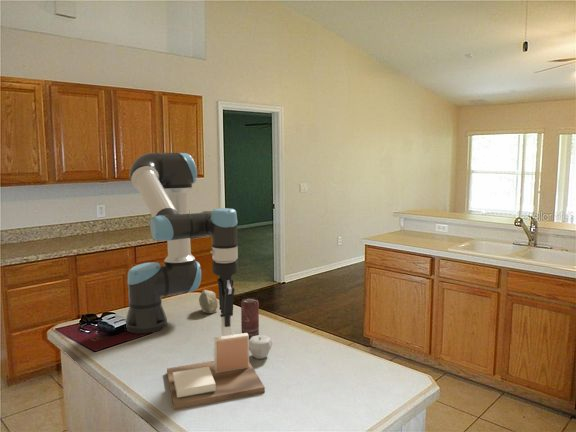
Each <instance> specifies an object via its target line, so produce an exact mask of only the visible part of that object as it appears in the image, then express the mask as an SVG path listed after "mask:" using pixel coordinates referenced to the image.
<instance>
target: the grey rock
mask: <svg viewBox="0 0 576 432" xmlns="http://www.w3.org/2000/svg"><path fill="white" fill-rule="evenodd" d="M198 297H199V298H198V302H199V306H200V309H201V310H202V312H203V313H205V314H212V313H217V312H218V311H217V309H218V304H219V301H218V299H217V294H216V293H215V292H214V291H212V290H207V289H203V290H202V292H201V293H200V295H199V296H198Z"/></svg>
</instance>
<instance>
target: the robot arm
mask: <svg viewBox="0 0 576 432" xmlns="http://www.w3.org/2000/svg"><path fill="white" fill-rule="evenodd" d="M129 168H130V169H129V171H128V173H129V175H128V176H129V181H130V183H131V185H132V187H134V189H136V190H137V191H138V192H139V194H140V196H141V198H142V200H143V201H144V203H145V205H146V207H147V209H148V211H149V214H150V215H151V219H150V224H149V227H150V228H149V229H150V233H151V237H152V239H153V240H154V241H157V242H162V241H165V242H167V256H166V257H165V259H164V260H163V262H164V263H163V264H164V265H161V264H160V263H159V262H157V261H154V262H143V263H140V264H136V265H135V266H132V267H131V268H130V269H129V270H128V271H127V281H126V282H127V289H128V290H127V292H128V310H127V314H126V318H125V321H124V323H125V322H126V328H127V331H126V332H129V333H130V334H132V333H133V334H150V333H154V332H157V331H161V330H163V329H164V328H166V327H167V326H168V317H167V315H166V312H165V310H164V306H163V305H162V298H163V297H168V296H176V295H180V294H188V293H191V292H195V291H196V290H197V289H198V288H199V287H200V285H201V280H202V269H201V264H200V262H199V261H196V258H195V256H194V255H193V254H192V249H191V239H196V238H206V237H210V238H211V250H210V253H209V254H212V260H213V261H212V266H211V267H212V274H214V275H215V276H219V277H218V278H217V279H216V281H217V288H218V289H217V290H218V304H219V310H220V314H219V316H220V318H221V320H220V321H221V324H220V325H221V336H228V335H232V316H234V298H235V297H234V295H235V287H233V286H234V279H232V276H233V275H236V274H237V273H238V272H239V269H238V268H239V267H238V266H239V264H238V259H239V255H238V254H239V252H238V251H239V249H238V222H239V221H238V215H237V211H236V209H234V208H229V207H228V208H227V207H225V208H224V207H223V208H222V207H221V208H214V209H213V210H202V211H201V212H195V213H190V206H189V205H190V204H189V192H190V191H191V190H192V189H193V184H195V183H196V182H197V181H198V180H197V179H198V170H197V165H196V163H195V160H194V158H193V157H192V155H190V153H187V152H186V153H184V152H148V153H144V154H141V155H140V156H139V157H137V158H136V159H135V160H134V162H132V164H131V166H130V167H129Z"/></svg>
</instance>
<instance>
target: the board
mask: <svg viewBox="0 0 576 432" xmlns="http://www.w3.org/2000/svg"><path fill="white" fill-rule="evenodd" d="M203 367H209V368H210V371H211V373H212V376H213V378H214V381H215V383H216V391H213V392H209V393H204V394H198V395H193V396H187V397H182V398H179V397H178V398H177V395H176V390H175V386H174V381H173V372H179V371H185V370H191V369H197V368H203ZM166 374H167V379H168V380H167V381H168V385H169V390H170V394H171V400H172V405H173V410H180V409H185V408H189V407H195V406H200V405H201V406H202V405H205V404H206V405H207V404H210V403H214V402H215V403H216V402H221V401H226V400H231V399H236V398H241V397H246V396H252V395H257V394H262V393H265V391H266V390H265V388H266V386H265V385H264V384H263V382H262V380H261V378H260V377H259V375H258V374H257V372H256V370H255V369H254V367H253V366H252V363H251V362H250V361H249V368H243V369H237V370H231V371H225V372H219V373H215V370H214V360H211V361H206V362H205V361H204V362H198V363H192V364H184V365H179V366H173V367H167V368H166Z"/></svg>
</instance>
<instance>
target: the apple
mask: <svg viewBox="0 0 576 432" xmlns="http://www.w3.org/2000/svg"><path fill="white" fill-rule="evenodd" d="M272 345H273V341H272V339H271V338H270V337H269V336H268V335H264V334H259V335H257V336H252V337H251V339H250V340H249V353H250V355H252V357H254V358H255V359H256V360H257V359H258V360H262V359H265V358H266V357H268V354H269V353H270V351H271V349H272Z"/></svg>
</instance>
